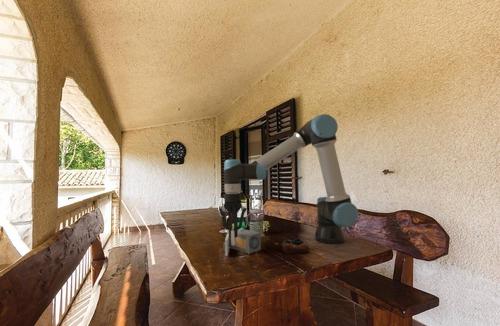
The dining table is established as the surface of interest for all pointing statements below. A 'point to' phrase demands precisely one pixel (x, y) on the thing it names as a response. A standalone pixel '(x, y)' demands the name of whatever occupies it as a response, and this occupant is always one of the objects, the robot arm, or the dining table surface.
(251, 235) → the camera block
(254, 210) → the french press
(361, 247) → the dining table surface
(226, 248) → the side door
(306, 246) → the pastry
